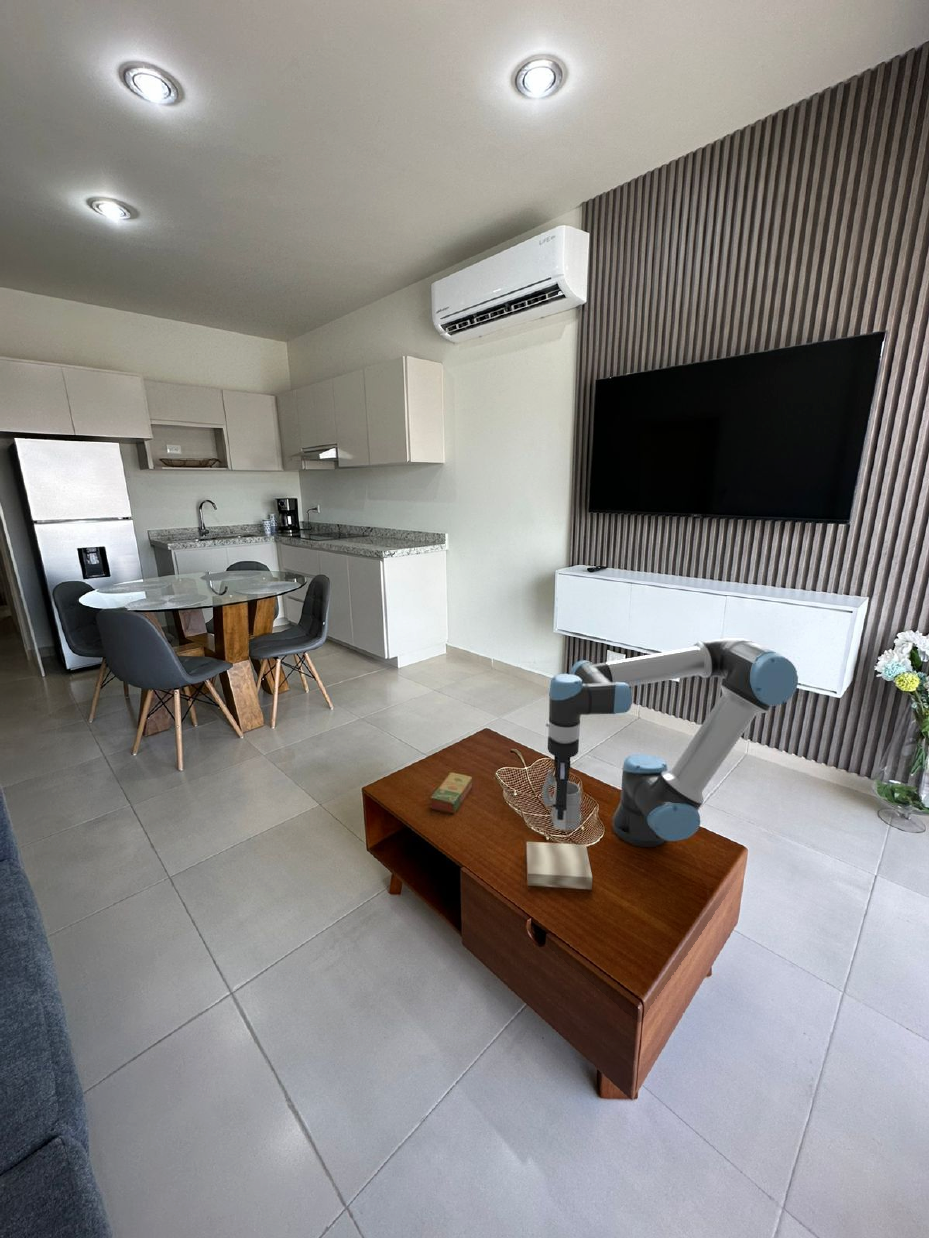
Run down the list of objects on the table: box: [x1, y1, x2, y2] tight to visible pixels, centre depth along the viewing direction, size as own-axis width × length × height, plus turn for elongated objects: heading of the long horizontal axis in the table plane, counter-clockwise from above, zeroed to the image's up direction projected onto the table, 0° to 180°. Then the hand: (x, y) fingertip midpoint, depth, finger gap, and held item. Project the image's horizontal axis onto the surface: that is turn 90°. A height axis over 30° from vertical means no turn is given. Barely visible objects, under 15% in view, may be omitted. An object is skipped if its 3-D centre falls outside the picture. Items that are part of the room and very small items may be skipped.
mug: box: [541, 769, 582, 831], centre depth 130 cm, size 8×12×12 cm, turn 39°
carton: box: [429, 772, 473, 815], centre depth 166 cm, size 8×16×4 cm, turn 158°
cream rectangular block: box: [526, 841, 593, 890], centre depth 134 cm, size 16×12×4 cm
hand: (559, 816), depth 130 cm, fingers closed on mug, 8 cm apart
